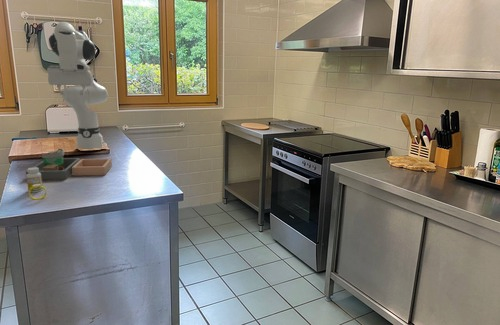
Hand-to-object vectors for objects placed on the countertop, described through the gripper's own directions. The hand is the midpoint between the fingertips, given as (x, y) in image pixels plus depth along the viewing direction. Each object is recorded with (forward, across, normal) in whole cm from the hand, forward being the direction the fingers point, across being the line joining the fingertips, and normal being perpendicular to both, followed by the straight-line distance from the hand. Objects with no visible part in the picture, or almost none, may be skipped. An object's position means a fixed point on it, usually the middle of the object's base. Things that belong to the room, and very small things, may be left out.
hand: (72, 94), depth 184 cm
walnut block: (+37, -8, -17) cm, 42 cm away
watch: (+37, -2, -48) cm, 61 cm away
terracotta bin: (+37, +9, -9) cm, 39 cm away
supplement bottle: (+37, -7, -38) cm, 54 cm away
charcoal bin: (+37, -8, -11) cm, 39 cm away
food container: (+37, -8, -8) cm, 39 cm away
